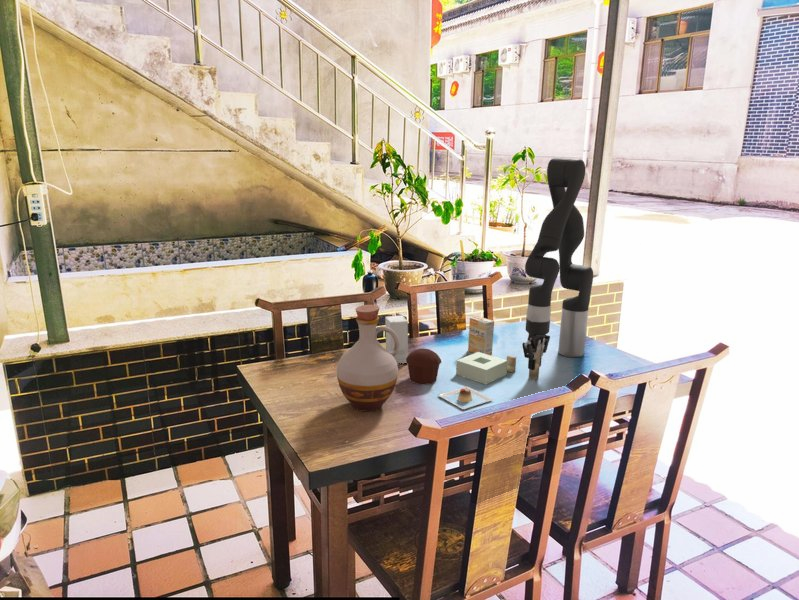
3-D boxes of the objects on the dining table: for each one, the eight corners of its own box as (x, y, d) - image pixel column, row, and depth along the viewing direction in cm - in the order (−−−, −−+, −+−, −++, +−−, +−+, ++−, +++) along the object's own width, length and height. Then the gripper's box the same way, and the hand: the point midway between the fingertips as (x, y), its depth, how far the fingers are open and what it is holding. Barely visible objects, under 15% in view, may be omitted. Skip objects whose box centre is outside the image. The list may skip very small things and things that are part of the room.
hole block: (477, 365, 210) (478, 351, 208) (506, 374, 202) (507, 360, 200) (456, 374, 201) (456, 360, 200) (485, 384, 193) (486, 369, 192)
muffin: (398, 379, 196) (399, 350, 193) (418, 370, 205) (418, 342, 202) (428, 389, 189) (429, 359, 187) (447, 378, 198) (448, 349, 195)
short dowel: (509, 368, 207) (510, 354, 206) (517, 370, 205) (518, 357, 204) (504, 370, 205) (504, 356, 204) (512, 373, 203) (512, 359, 202)
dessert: (437, 398, 184) (437, 383, 182) (466, 389, 190) (467, 375, 189) (463, 412, 174) (463, 397, 173) (493, 403, 181) (494, 388, 180)
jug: (382, 387, 190) (383, 295, 182) (414, 408, 175) (416, 309, 167) (326, 401, 179) (324, 304, 172) (355, 424, 165) (354, 320, 157)
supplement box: (467, 351, 224) (468, 317, 220) (476, 348, 227) (477, 315, 223) (483, 357, 217) (485, 322, 214) (492, 354, 221) (494, 320, 217)
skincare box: (408, 364, 210) (409, 321, 206) (389, 365, 208) (390, 322, 204) (402, 355, 218) (403, 314, 214) (384, 357, 216) (384, 315, 212)
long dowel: (531, 375, 201) (534, 341, 198) (540, 378, 199) (543, 343, 196) (526, 377, 199) (529, 343, 196) (535, 380, 197) (538, 346, 194)
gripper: (539, 311, 201) (535, 359, 206) (516, 319, 191) (512, 370, 196) (559, 315, 196) (555, 365, 201) (536, 324, 186) (532, 376, 191)
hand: (534, 367), depth 198 cm, fingers closed on long dowel, 3 cm apart
